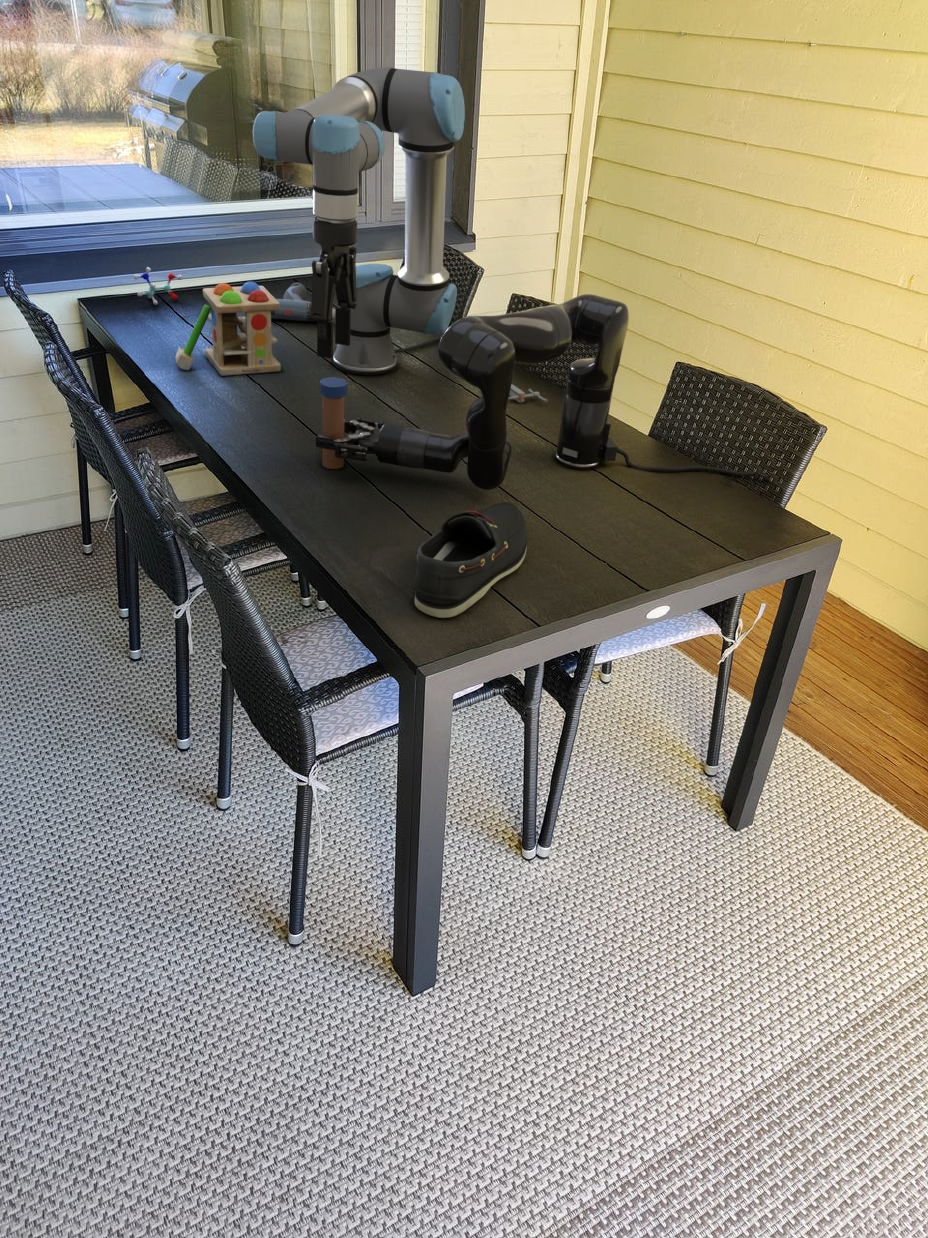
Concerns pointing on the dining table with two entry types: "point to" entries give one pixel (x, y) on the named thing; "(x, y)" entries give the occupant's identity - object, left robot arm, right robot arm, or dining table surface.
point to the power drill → (295, 305)
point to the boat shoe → (468, 558)
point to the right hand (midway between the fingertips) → (324, 432)
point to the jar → (332, 428)
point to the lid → (333, 387)
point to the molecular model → (154, 288)
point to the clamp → (523, 394)
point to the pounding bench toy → (229, 347)
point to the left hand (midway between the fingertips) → (334, 349)
